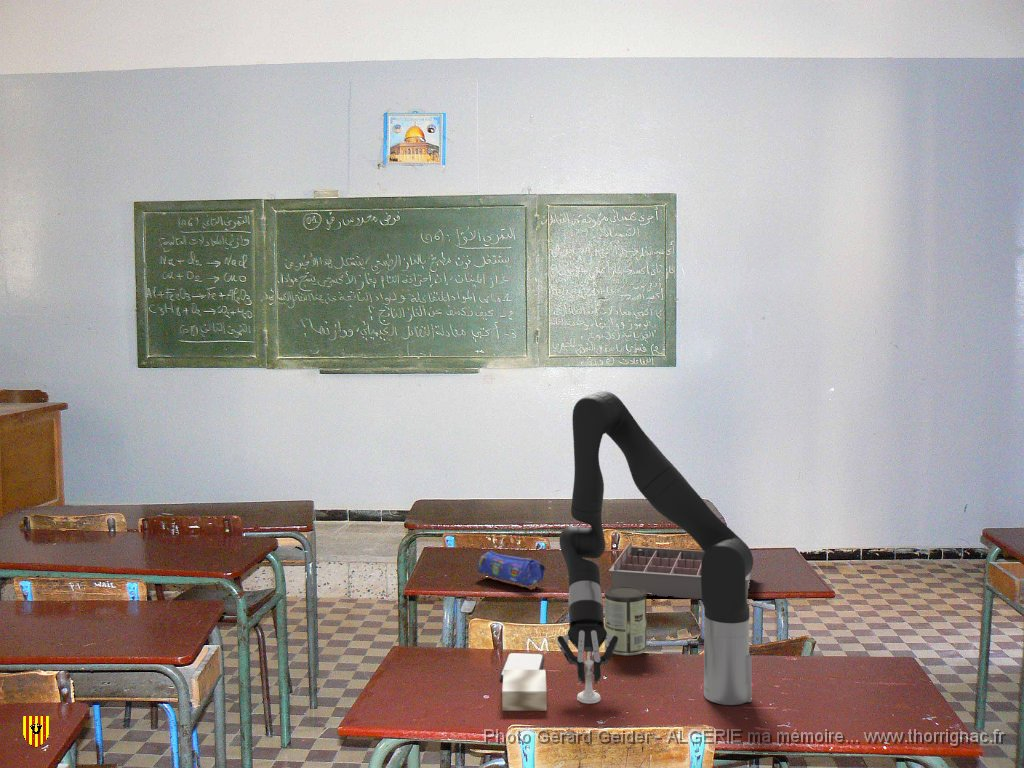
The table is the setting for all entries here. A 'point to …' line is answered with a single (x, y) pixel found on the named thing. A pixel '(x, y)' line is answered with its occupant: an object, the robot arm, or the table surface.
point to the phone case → (522, 662)
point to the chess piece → (588, 685)
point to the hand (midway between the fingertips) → (589, 681)
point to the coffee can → (626, 618)
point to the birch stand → (524, 690)
